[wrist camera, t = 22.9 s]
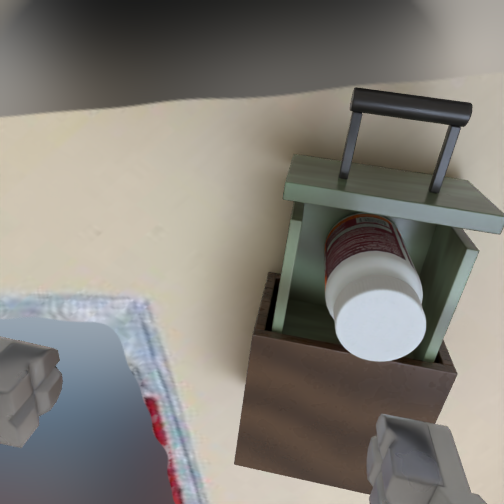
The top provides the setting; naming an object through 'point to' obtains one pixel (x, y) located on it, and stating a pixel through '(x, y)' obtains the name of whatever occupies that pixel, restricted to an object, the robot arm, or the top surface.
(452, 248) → the drawer
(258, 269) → the top surface
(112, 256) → the top surface
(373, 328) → the pill bottle
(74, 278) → the top surface
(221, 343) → the top surface
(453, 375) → the cabinet
